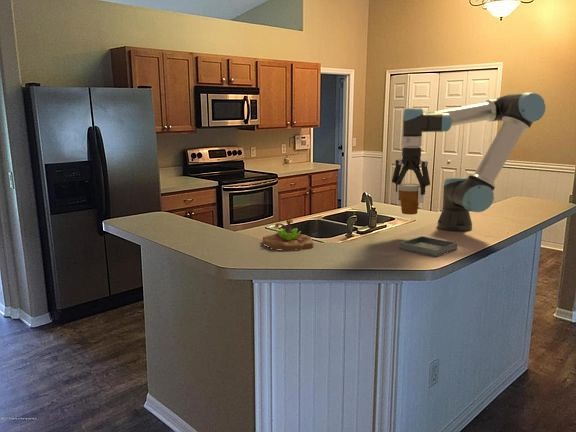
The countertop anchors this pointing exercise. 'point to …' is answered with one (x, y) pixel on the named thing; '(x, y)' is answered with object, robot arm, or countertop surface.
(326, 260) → the countertop surface
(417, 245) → the grey square tray
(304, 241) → the plant
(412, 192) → the disposable coffee cup
